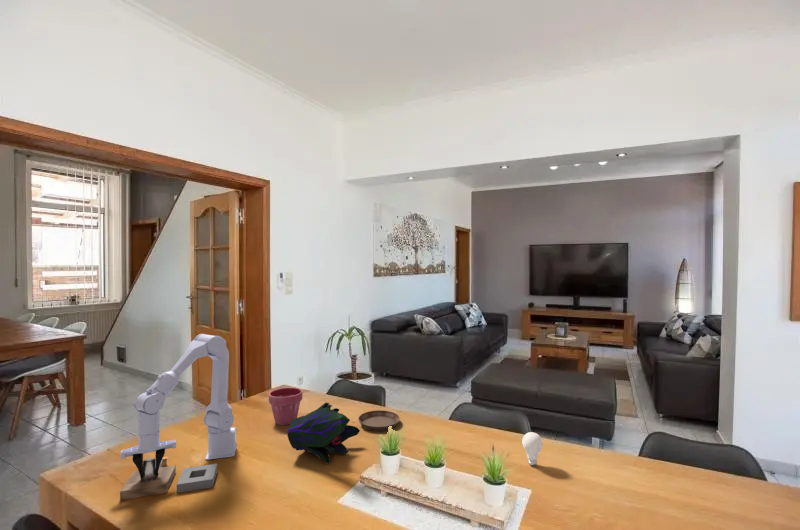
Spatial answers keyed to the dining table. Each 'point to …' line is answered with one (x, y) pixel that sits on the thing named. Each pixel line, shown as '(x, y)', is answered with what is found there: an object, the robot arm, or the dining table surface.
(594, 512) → the dining table surface
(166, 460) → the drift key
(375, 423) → the plant saucer
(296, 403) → the plant pot
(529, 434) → the light bulb
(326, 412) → the decorative plant
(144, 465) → the peg
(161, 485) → the socket block
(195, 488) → the block
